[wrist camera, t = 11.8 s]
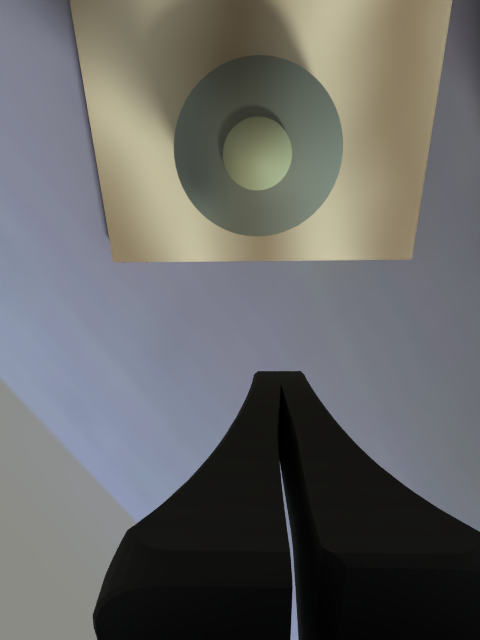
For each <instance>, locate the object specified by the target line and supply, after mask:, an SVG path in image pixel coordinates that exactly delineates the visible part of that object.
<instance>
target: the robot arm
mask: <svg viewBox="0 0 480 640" xmlns="http://www.w3.org/2000/svg"><path fill="white" fill-rule="evenodd" d="M279 462H280V463H279ZM280 465H281V471H282V478H283V484H284V490H285V496H286V503H287V509H288V515H289V521H290V528H291V535H292V544H293V556H294V571H295V586H296V602H297V619H298V636H299V640H480V532H479V531H477V530H475V529H474V528H472V527H470V526H468V525H467V524H465V523H463V522H461V521H460V520H458V519H456V518H454V517H453V516H451V515H449V514H447V513H446V512H444V511H442V510H440V509H439V508H437V507H436V506H434V505H432V504H431V503H429V502H428V501H426V500H425V499H423V498H422V497H420V496H419V495H417V494H416V493H414V492H413V491H412V490H410V489H409V488H407V487H406V486H405V485H403V484H402V483H401V482H399V481H398V480H397V479H396V478H394V477H393V476H392V475H390V474H389V473H388V472H387V471H385V470H384V469H383V468H381V467H380V466H379V465H378V464H377V463H376V462H375V461H373V460H372V459H371V458H370V457H369V456H368V455H367V454H366V453H365V452H364V451H363V450H362V449H361V448H360V447H359V446H358V445H357V444H356V443H355V442H354V441H353V440H352V439H351V438H350V437H349V436H348V435H347V433H346V432H345V431H344V430H343V429H342V428H341V427H340V426H339V424H338V423H337V422H336V421H335V419H334V418H333V417H332V416H331V414H330V413H329V412H328V410H327V409H326V408H325V407H324V405H323V404H322V402H321V401H320V400H319V398H318V397H317V395H316V394H315V392H314V391H313V389H312V388H311V386H310V384H309V383H308V381H307V379H306V377H305V375H304V374H303V373H302V372H301V371H258V372H257V373H255V374H254V378H253V382H252V385H251V388H250V390H249V393H248V395H247V397H246V400H245V402H244V404H243V406H242V408H241V409H240V411H239V413H238V415H237V417H236V419H235V420H234V422H233V424H232V425H231V427H230V428H229V430H228V432H227V433H226V435H225V436H224V438H223V439H222V441H221V442H220V443H219V445H218V446H217V447H216V449H215V450H214V451H213V453H212V454H211V455H210V456H209V458H208V459H207V460H206V461H205V462H204V463H203V464H202V466H201V467H200V468H199V469H198V470H197V471H196V472H195V473H194V475H193V476H192V477H191V478H190V479H189V480H188V481H187V482H186V483H185V484H184V485H182V486H181V487H180V488H179V489H178V490H177V491H176V492H175V493H174V494H173V495H172V496H171V497H169V498H168V499H167V500H166V501H165V502H164V503H163V504H162V505H160V506H159V507H158V508H157V509H155V510H154V511H153V512H152V513H150V514H149V515H148V516H146V517H145V518H144V519H142V520H141V521H140V522H138V523H137V524H136V525H135V526H133V527H131V528H130V529H129V530H127V532H126V534H125V535H124V537H123V539H122V541H121V543H120V545H119V547H118V549H117V551H116V553H115V555H114V557H113V559H112V561H111V564H110V566H109V568H108V571H107V573H106V575H105V578H104V581H103V584H102V587H101V591H100V594H99V597H98V600H97V604H96V607H95V610H94V613H93V624H94V629H95V633H96V636H97V640H290V634H291V611H292V571H291V557H290V548H289V541H288V534H287V526H286V518H285V511H284V502H283V493H282V484H281V473H280Z"/></svg>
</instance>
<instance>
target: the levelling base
mask: <svg viewBox="0 0 480 640" xmlns="http://www.w3.org/2000/svg"><path fill="white" fill-rule="evenodd" d="M70 6H71V12H72V18H73V24H74V30H75V36H76V42H77V48H78V54H79V60H80V66H81V72H82V78H83V84H84V90H85V96H86V102H87V108H88V114H89V120H90V126H91V132H92V138H93V144H94V150H95V156H96V162H97V168H98V174H99V180H100V186H101V192H102V198H103V204H104V210H105V216H106V222H107V228H108V234H109V240H110V246H111V252H112V258H113V262H201V261H302V260H403V259H412V254H413V248H414V241H415V235H416V229H417V222H418V216H419V210H420V203H421V197H422V190H423V184H424V178H425V171H426V165H427V159H428V152H429V146H430V140H431V133H432V127H433V121H434V114H435V108H436V102H437V95H438V89H439V82H440V76H441V70H442V63H443V57H444V51H445V44H446V38H447V32H448V25H449V19H450V13H451V6H452V0H70Z"/></svg>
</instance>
